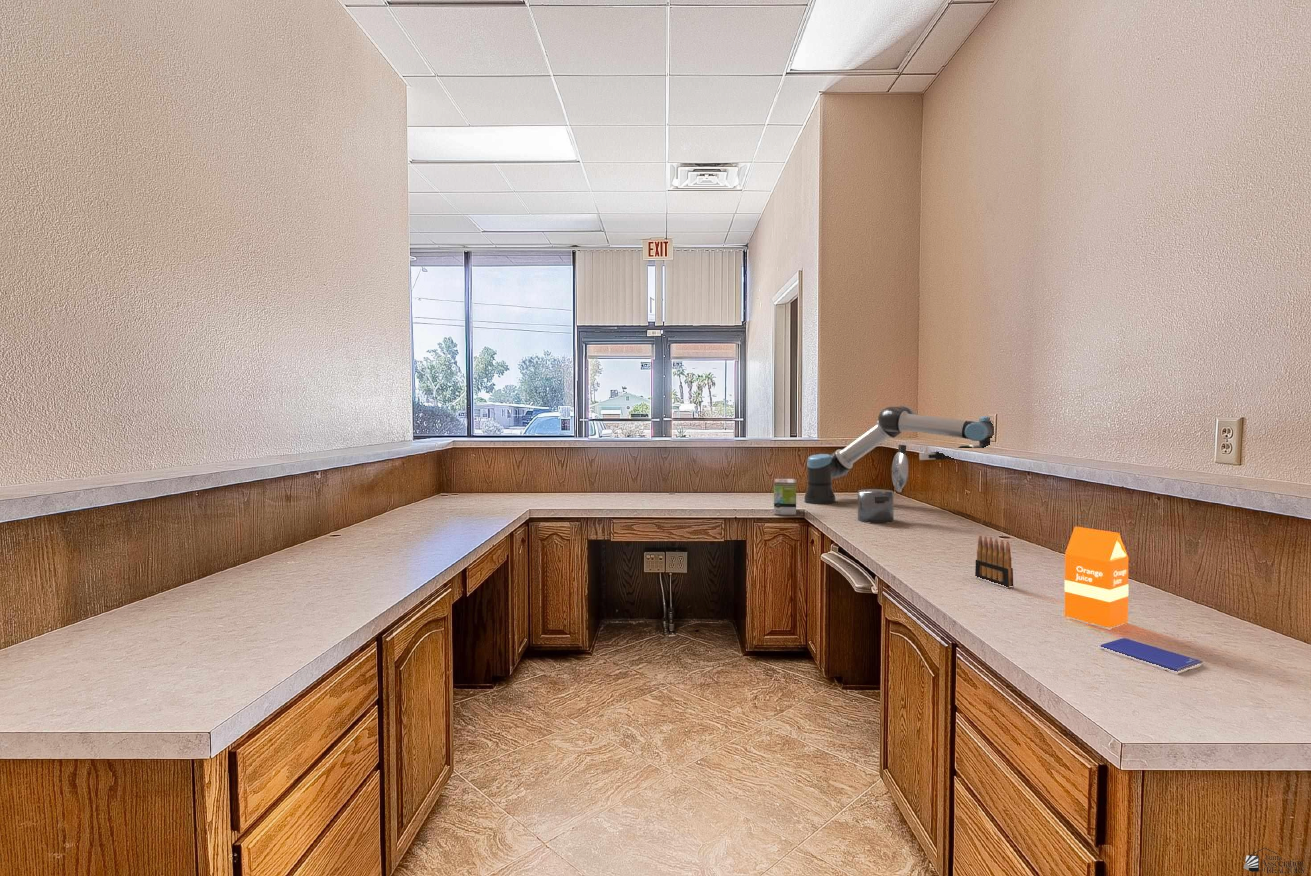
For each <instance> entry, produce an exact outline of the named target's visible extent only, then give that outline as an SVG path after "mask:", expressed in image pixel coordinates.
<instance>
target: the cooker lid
mask: <svg viewBox="0 0 1311 876" xmlns="http://www.w3.org/2000/svg"><path fill="white" fill-rule="evenodd" d="M906 452H907V445H906V444H898V449H897V452H896V454H895V455H894V457H893V460H892V463H891V481H892V484H893V486H894V492H897V493H902V490H903V488H905V486H906V484H907V482H908V478H909V470H910V469H909V468H910V467H909V460H908V456H907V455H906Z"/></svg>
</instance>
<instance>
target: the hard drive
mask: <svg viewBox="0 0 1311 876" xmlns="http://www.w3.org/2000/svg"><path fill="white" fill-rule="evenodd" d="M1100 646H1101V647H1104V648H1107V649H1110V650H1113V651H1115V652H1119V653H1122V654H1125V655H1127V656H1131V657H1134V658H1136V659H1139V660H1143V661H1146V662H1149V663H1152V664H1156V665H1159V666H1161V667H1164V668H1168V669H1170V670H1174V671H1177V672H1178V671H1181V670H1184V669H1186V668H1190V667H1192V666H1195V665H1197V664H1201V663H1204V661H1202V660H1200V659H1197V658H1193V657H1191V656H1190V657H1189V656H1187V655H1184V654H1180V653H1176V652H1173V651H1170V650H1167V649H1166V650H1165V649H1162V648H1160V647H1156V646H1153V645H1150V644H1147V643H1142V642H1139V641H1135V640H1133V639H1129V638H1125V637H1122V638H1119V639H1115V640H1112V641H1108V642H1105V643H1102V644H1100ZM1100 646H1099V647H1100Z"/></svg>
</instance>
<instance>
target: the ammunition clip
mask: <svg viewBox="0 0 1311 876" xmlns="http://www.w3.org/2000/svg"><path fill="white" fill-rule="evenodd" d="M1011 555H1012V554H1011V545H1010V543H1009V541H1006V543H1004V540H1003V539H1001V540H1000V543H999V540H998V539H997V538H995V539H994V541H993V538H992V537H990V538H989V540H988V538H987V536H986V535H985V536H984V537H983V538H982V535H981V534H979V536H978V538H977V548H976V559H975V569H974V570H975V572H974V573H975V574H974V577H975V576H977V577H980V578H982V579H986V580H989V581H991V582H994V583H998V584H1001V585H1004V586H1006V587H1009V586H1013V587H1014V568H1013V567H1012V556H1011Z"/></svg>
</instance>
